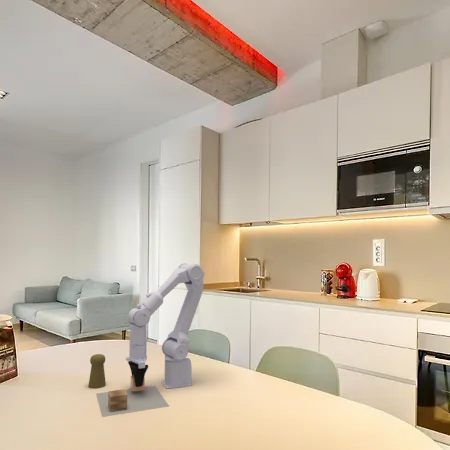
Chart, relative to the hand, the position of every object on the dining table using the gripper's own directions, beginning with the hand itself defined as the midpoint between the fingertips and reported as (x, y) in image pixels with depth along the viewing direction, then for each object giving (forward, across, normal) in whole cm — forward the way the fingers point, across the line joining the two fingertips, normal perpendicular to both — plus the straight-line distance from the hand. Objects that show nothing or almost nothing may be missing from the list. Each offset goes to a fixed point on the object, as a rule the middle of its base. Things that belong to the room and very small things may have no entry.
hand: (137, 384), depth 131 cm
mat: (+3, +6, -3) cm, 7 cm away
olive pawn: (+3, -12, -12) cm, 17 cm away
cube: (+2, 0, 0) cm, 2 cm away
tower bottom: (+2, +11, -8) cm, 14 cm away
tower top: (0, +11, -8) cm, 14 cm away
